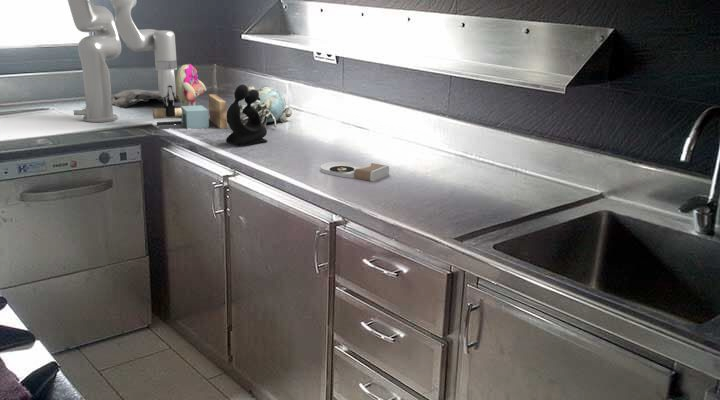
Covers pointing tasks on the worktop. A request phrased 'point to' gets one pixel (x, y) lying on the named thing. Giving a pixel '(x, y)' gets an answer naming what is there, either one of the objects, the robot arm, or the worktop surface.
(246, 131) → the figurine
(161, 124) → the guide rails
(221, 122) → the block
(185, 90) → the toy
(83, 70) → the robot arm
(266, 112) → the sculpture
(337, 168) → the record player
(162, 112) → the dowel
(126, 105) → the stone fragment
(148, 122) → the worktop surface
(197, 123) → the block
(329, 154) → the worktop surface
